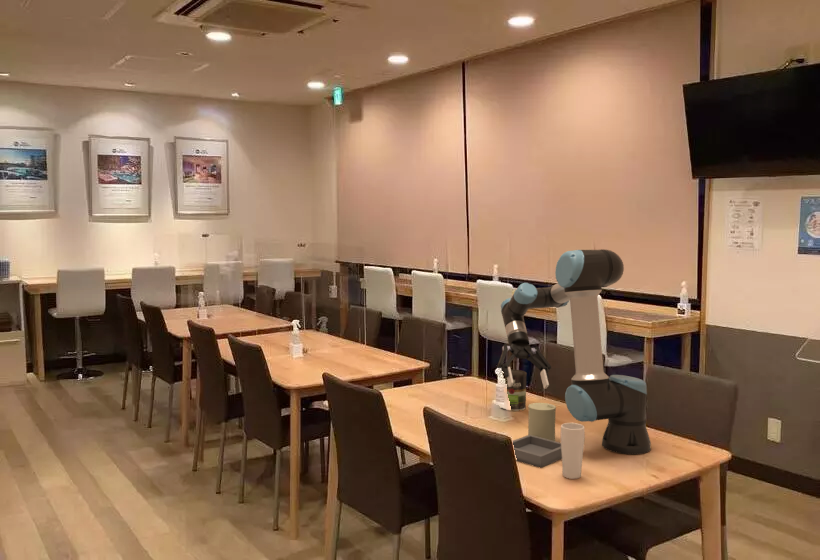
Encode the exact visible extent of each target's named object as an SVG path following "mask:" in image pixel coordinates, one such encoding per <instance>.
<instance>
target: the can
mask: <svg viewBox="0 0 820 560" xmlns="http://www.w3.org/2000/svg"><path fill="white" fill-rule="evenodd" d="M527 408H528V426H527V428H528V431H527V433H528V434H527V435H533V436H537V437H541V438H544V439H548V440H552V441H556V410H557V409H556V408H557V406H556V405H554V404H552V403H548V402H533V403H529V404H528V406H527Z"/></svg>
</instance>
